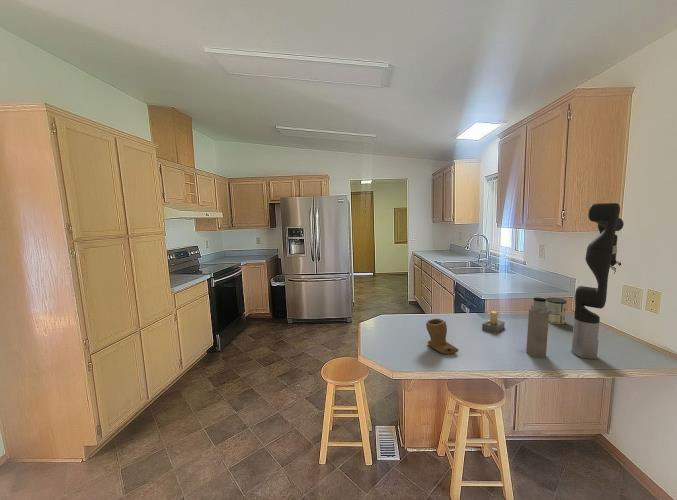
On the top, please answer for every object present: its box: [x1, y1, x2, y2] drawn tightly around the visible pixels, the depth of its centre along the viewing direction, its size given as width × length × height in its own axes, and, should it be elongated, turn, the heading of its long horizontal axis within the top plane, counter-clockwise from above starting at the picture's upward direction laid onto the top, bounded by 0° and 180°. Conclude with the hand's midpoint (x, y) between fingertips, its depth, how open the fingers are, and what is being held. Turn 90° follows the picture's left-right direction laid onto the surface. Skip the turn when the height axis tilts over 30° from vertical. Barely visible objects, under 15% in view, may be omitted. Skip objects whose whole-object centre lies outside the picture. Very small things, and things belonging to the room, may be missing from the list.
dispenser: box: [481, 318, 506, 334], centre depth 170 cm, size 12×8×6 cm, turn 132°
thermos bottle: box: [525, 297, 549, 359], centre depth 139 cm, size 8×8×28 cm
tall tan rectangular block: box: [489, 310, 499, 324], centre depth 169 cm, size 4×2×10 cm, turn 132°
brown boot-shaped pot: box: [425, 318, 459, 355], centre depth 147 cm, size 15×12×15 cm
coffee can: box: [545, 297, 567, 325], centre depth 181 cm, size 10×10×14 cm
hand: (605, 275), depth 172 cm, fingers open, 8 cm apart
